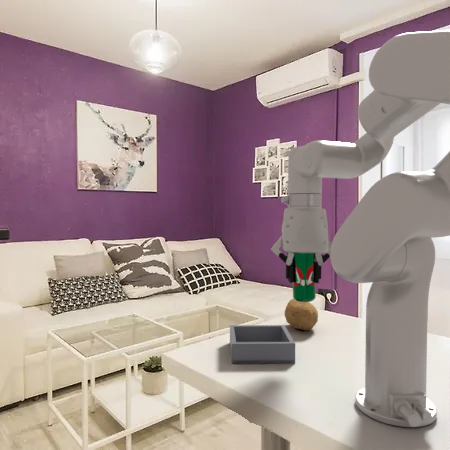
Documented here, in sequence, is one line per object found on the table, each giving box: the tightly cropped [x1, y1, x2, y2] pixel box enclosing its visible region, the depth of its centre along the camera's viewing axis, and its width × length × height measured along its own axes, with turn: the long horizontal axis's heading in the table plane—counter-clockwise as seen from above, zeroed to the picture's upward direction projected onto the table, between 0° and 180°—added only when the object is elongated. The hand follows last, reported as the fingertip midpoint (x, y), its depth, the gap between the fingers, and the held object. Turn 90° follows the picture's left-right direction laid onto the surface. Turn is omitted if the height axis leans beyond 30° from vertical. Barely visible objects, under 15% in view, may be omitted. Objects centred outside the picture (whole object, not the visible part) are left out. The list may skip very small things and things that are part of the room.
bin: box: [229, 324, 296, 365], centre depth 93 cm, size 14×14×4 cm
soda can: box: [292, 253, 317, 303], centre depth 89 cm, size 5×5×12 cm
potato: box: [284, 298, 319, 331], centre depth 112 cm, size 10×14×8 cm
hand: (303, 281), depth 89 cm, fingers closed on soda can, 5 cm apart
